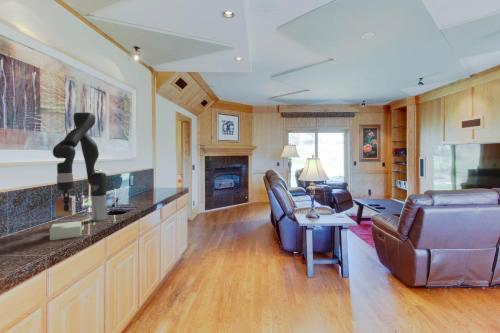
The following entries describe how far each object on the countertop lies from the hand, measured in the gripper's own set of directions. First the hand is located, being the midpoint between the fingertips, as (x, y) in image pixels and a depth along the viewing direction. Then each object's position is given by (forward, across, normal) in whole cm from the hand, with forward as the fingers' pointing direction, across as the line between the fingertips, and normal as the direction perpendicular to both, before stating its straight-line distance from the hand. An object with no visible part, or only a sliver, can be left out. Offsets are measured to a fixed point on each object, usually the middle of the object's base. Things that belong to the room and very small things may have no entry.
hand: (66, 210), depth 154 cm
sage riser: (+15, 0, 0) cm, 15 cm away
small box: (+3, 0, 0) cm, 3 cm away
